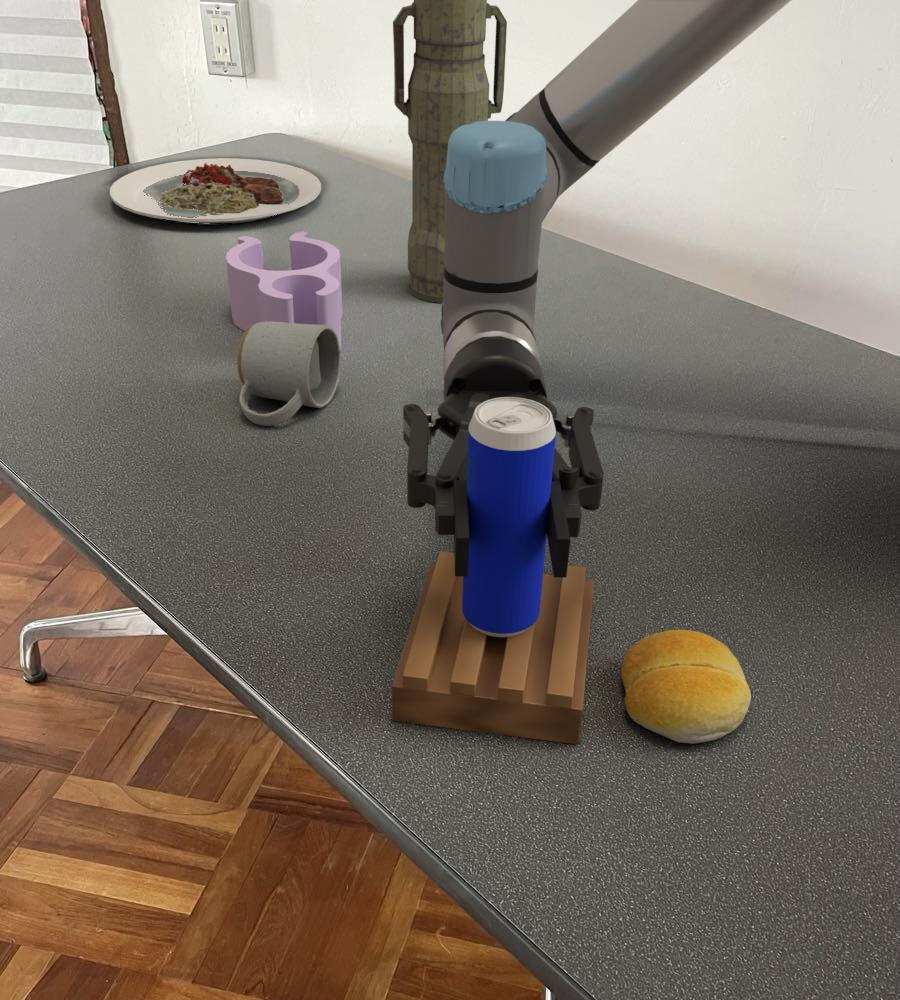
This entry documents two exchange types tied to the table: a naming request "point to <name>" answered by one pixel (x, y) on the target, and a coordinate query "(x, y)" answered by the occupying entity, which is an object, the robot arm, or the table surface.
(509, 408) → the beverage can
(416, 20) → the olive green vase
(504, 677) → the rack
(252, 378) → the ceramic mug
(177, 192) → the plated food
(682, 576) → the table surface
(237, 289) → the clip
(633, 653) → the bread roll
